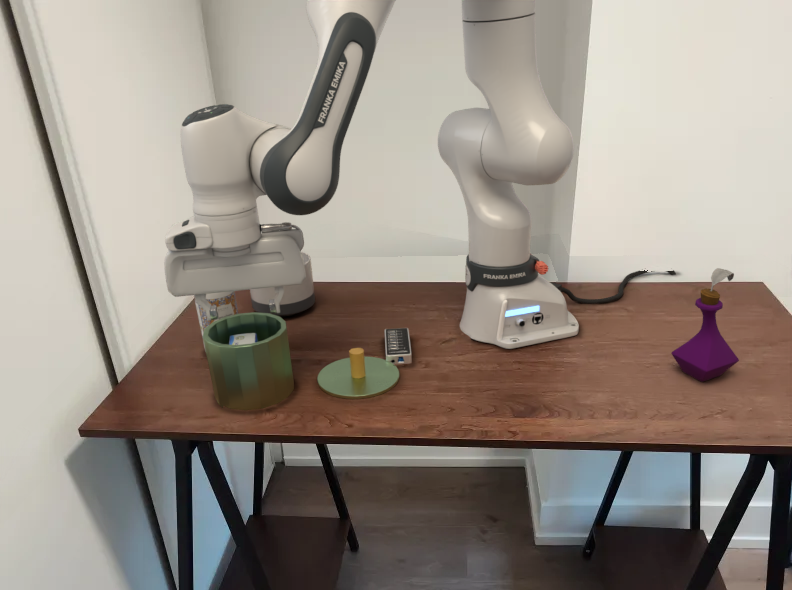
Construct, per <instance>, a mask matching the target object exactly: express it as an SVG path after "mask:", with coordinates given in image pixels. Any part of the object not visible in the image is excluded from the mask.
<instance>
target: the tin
mask: <svg viewBox="0 0 792 590" xmlns="http://www.w3.org/2000/svg"><path fill="white" fill-rule="evenodd" d="M287 327H288V326H287V321H286V320H284V319H283V317H280V316H276V315H273V314H270V313H258V312H257V311H255V312H254V311H253V312H243V313H238V314H236V315H232V316H228V317H224V318H222V319H219V320H217V321H215V322H213V323H211V324H210V325H209V326H208V327H207V328H205V329H204V333H203V338H202V341H203V340H204V343H203V346H204V345H205V348H204V351H205V350H206V352H205V354H206V360H207V366H208V369H209V370H208V371H209V374H210V380H211V385H212V390H213V394H214V399H215V400H216V403H217V404H218V406H219V407H221V408H223V409H224V407H225V408H228V409H230V410H235V411H254V410H262V409H266V408H268V407H271V406H275V405H278V404H279V403H281V402H282V401H284V400H286V399H287V398H289V397H290V396H291V394H292V393H293V391H294V390H295V382H294V381H295V379H294V373H293V364H292V358H291V350H290V349H291V348H290V343H289V335H288V328H287ZM246 333H256V334H257V339H258V342H255V343H252V344H242V345H229V340H230V336H232V335H237V334H246Z"/></svg>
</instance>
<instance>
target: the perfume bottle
mask: <svg viewBox="0 0 792 590" xmlns="http://www.w3.org/2000/svg"><path fill="white" fill-rule="evenodd" d="M734 276H735V273H734V272H732V271H730V270H728V269H724V268H719V267H717V268H716V269H714V270H713V272H712V274H711V276H710V279H711V286H710V288H703V289H700V297H699V298H697V299H695V304H694V305H695V306H696V308H698V309H700V311H701V313H702V324H701V327H700V329H699V330H698V331H697V332H696V334H695V335H693V337H692V338H690V339H689V340H688V341H686V342H685V343H683V344H681V345H680V346H679V347H677V348H676V349H674V350H673V351H671V354H670V355H672V358H673V359H674V360H675V361H676V363H677V365H678V367H679V368H680V369H681V371H682V372H683V373H685V374H687V375H688V376H690V377H692V378H694V379H695V380H697V381H700V382H701V383H704V382H706V381H709V380H712V379H715V378H718V377H720V376H721V375H723V374H724V373H726V371H729V370H730V369H731V368H732V367H733V366H734V365H736V364H737V363H738V362H739V361H740V359H739V358H738V356H737V355H736V353H735V352H734V351H733V350H732V348H731V347H730V346H729V344H728V342H727V341H726V340H725V338H724V337H723V336H722V334H721V332H720V330H719V327H718V323H717V317H716V316H717V312H718V311H720V310H722V309H723V308H724V307H723V306H724V304H723V303H724V302H722V301H721V300H720V298H721V294H720V293H719V292H718V291H717V290H715V289H714V286H715V285H717V284H719V283H720V282H722V281H724V280H725V279H726V278H727V280H728V282H731V281H732V280H733V279H734Z"/></svg>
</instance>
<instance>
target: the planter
mask: <svg viewBox="0 0 792 590" xmlns="http://www.w3.org/2000/svg"><path fill="white" fill-rule="evenodd" d="M301 253H302V257H303V261H304V266H305V272H306V279H305V280H304V282H303V283H302V284H300V285H290V286H284V294H283V296H282V299H281V301H280V303H279V304H280V313H274V314H273V315H276V316H280V317H281V318H285V317H291V316H294V315H298V314H300V313H303V312H304V311H306V310H308V309H311V307H313V305H314V304H315V303H316V293H315V287H314V286H315V284H314V278H313V277H314V276H313V267H312V266H313V265H312V258H311V256H310V254H308V253H307V252H305V251H301ZM249 294H250V300H251V301H250V302H251V306H252V309H253V310H254V311H255V312H257V313H270V307H269V300H272V299H275V296H276V294H277V293H275V289H274V287H270V288H260V289H250V290H249ZM270 314H271V313H270Z"/></svg>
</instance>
